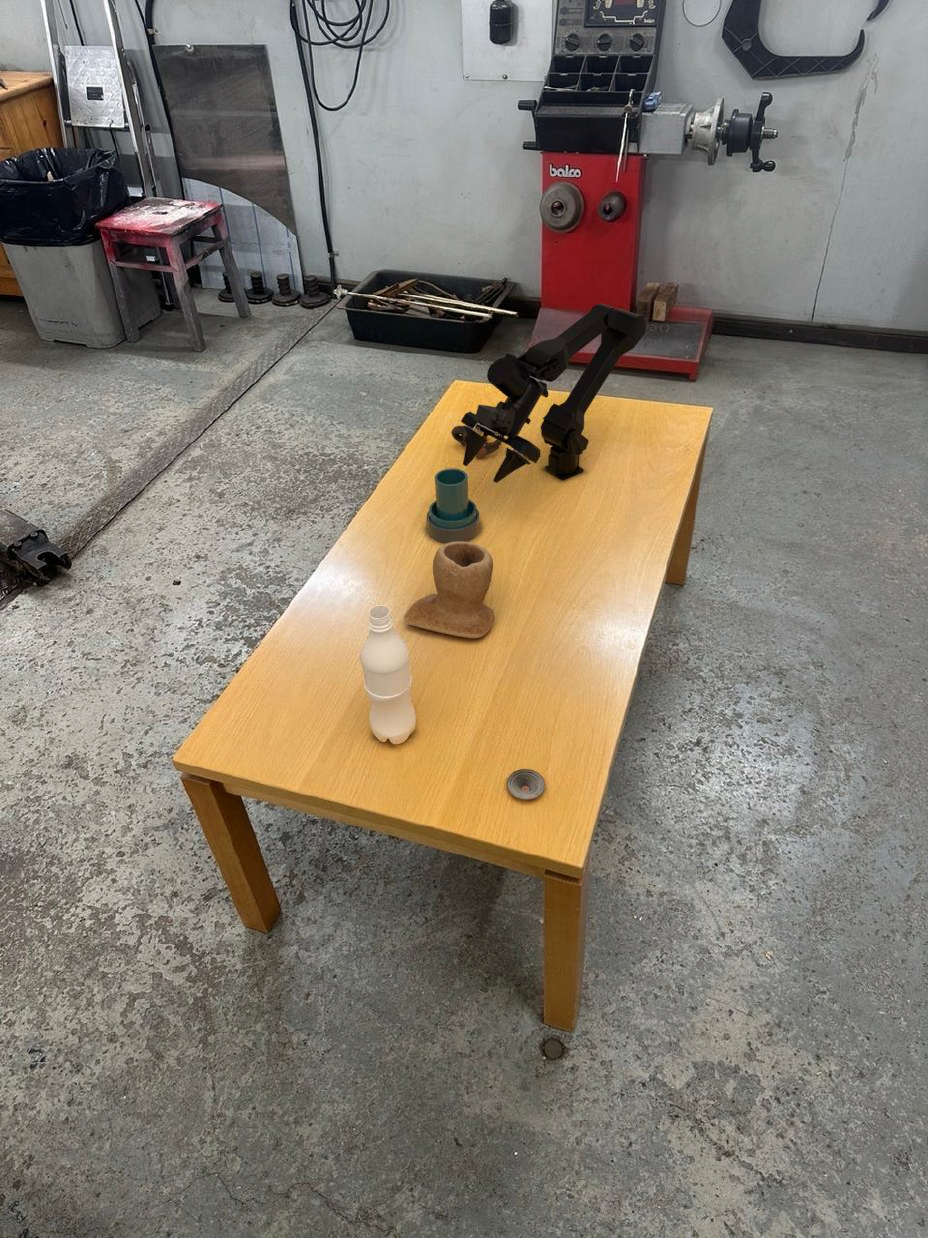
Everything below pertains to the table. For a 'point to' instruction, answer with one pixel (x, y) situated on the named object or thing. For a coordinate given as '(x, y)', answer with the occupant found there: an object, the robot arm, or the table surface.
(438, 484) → the teal cup
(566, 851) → the table surface
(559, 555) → the table surface
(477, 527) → the stack base cup
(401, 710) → the water bottle
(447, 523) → the stack top cup
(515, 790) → the dark grey round dish
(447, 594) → the stone cup
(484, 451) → the brown ring piece
